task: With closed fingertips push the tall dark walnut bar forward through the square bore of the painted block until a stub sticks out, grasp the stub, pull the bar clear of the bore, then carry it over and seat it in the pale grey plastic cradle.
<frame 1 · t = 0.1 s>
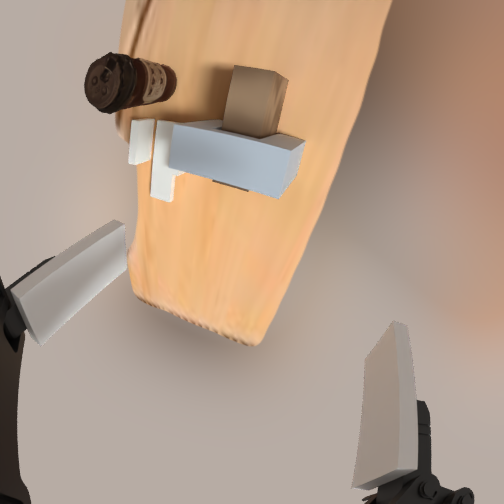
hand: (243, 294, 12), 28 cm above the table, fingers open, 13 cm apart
coffee cup: (162, 83, 35), on the table
bore block: (256, 145, 36), on the table
walnut bar: (261, 124, 35), on the table
cradle: (166, 160, 41), on the table
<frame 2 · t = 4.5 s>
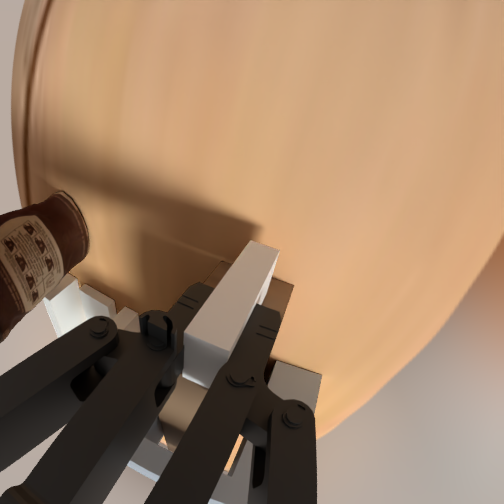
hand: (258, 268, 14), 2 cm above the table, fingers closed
coffee cup: (71, 224, 20), on the table
bore block: (236, 365, 21), on the table
walnut bar: (239, 347, 20), on the table, touching gripper
cradle: (109, 336, 26), on the table
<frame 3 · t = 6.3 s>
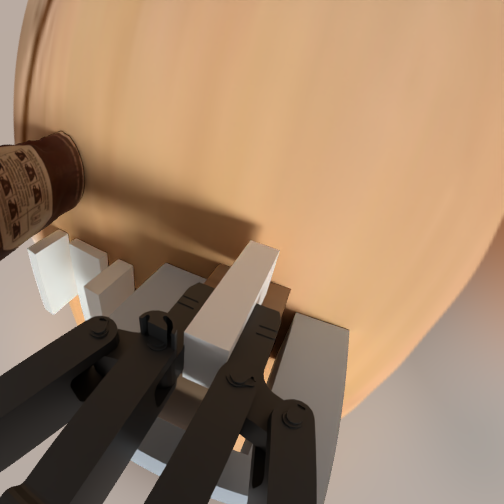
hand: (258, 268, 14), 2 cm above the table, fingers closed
coffee cup: (66, 168, 18), on the table
bore block: (246, 324, 18), on the table
walnut bar: (235, 347, 20), on the table
cradle: (99, 302, 23), on the table
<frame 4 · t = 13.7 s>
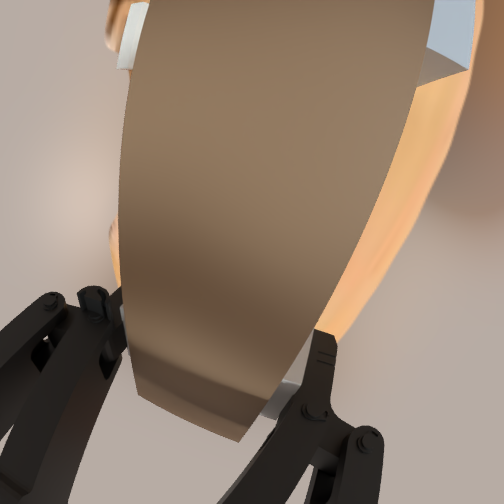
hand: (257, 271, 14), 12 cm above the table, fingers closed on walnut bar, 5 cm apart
bore block: (345, 36, 16), on the table
walnut bar: (284, 191, 12), point 12 cm above the table, touching gripper
cradle: (180, 67, 21), on the table
when the fingers open (3 cm above the table, at t = 16.5 s): walnut bar drops 1 cm, resting on cradle.
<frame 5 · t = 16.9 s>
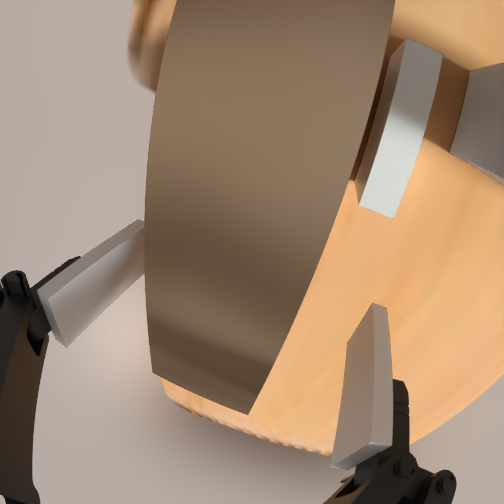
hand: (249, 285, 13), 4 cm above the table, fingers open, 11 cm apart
walnut bar: (284, 183, 14), point 1 cm above the table, touching cradle
cradle: (297, 152, 14), on the table
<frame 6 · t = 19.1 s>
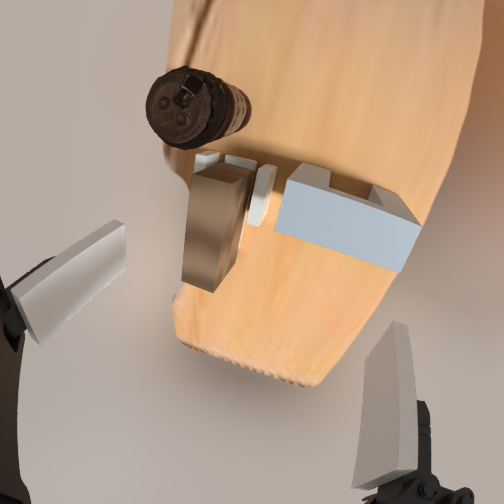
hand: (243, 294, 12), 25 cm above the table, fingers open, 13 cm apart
coffee cup: (230, 109, 32), on the table
bore block: (346, 195, 33), on the table
walnut bar: (228, 215, 38), point 1 cm above the table, touching cradle
cradle: (233, 203, 38), on the table
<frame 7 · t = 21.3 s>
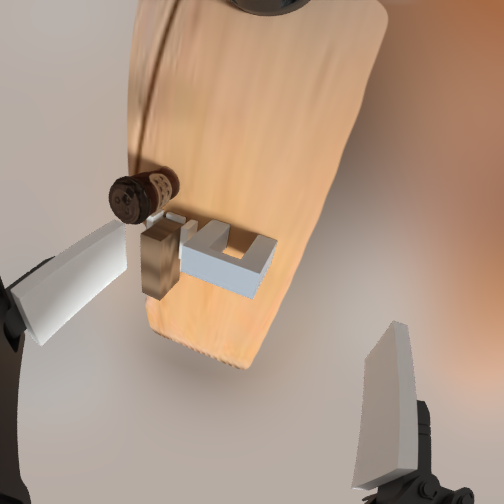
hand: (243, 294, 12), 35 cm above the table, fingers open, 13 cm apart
coffee cup: (167, 182, 51), on the table
bore block: (241, 241, 52), on the table
walnut bar: (171, 250, 57), point 1 cm above the table, touching cradle
cradle: (175, 242, 57), on the table
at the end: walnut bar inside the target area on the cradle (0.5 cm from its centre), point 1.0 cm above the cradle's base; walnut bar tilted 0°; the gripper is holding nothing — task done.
